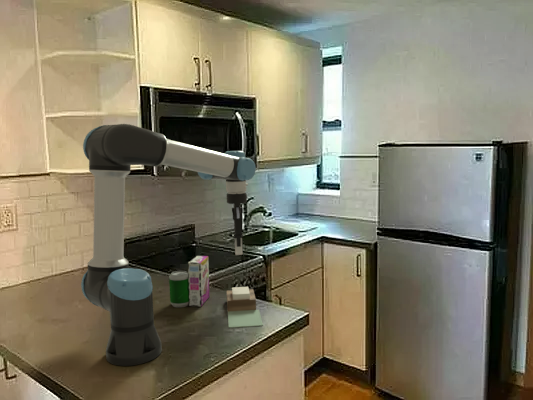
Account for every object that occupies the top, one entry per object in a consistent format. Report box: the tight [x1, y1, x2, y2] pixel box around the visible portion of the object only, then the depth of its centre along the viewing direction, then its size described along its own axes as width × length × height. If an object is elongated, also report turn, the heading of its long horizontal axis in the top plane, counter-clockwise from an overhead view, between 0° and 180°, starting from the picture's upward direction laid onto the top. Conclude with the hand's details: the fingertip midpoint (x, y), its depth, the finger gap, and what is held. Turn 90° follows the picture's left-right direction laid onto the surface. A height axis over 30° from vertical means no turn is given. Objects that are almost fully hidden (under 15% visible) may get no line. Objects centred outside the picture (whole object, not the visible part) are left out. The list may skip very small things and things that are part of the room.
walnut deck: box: [226, 288, 257, 312], centre depth 166 cm, size 12×10×4 cm
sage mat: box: [227, 309, 264, 329], centre depth 154 cm, size 14×11×1 cm
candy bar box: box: [187, 255, 210, 308], centre depth 171 cm, size 11×5×16 cm, turn 171°
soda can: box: [168, 270, 189, 308], centre depth 168 cm, size 8×8×12 cm
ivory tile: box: [231, 286, 250, 300], centre depth 165 cm, size 8×6×2 cm
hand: (238, 254), depth 174 cm, fingers closed
